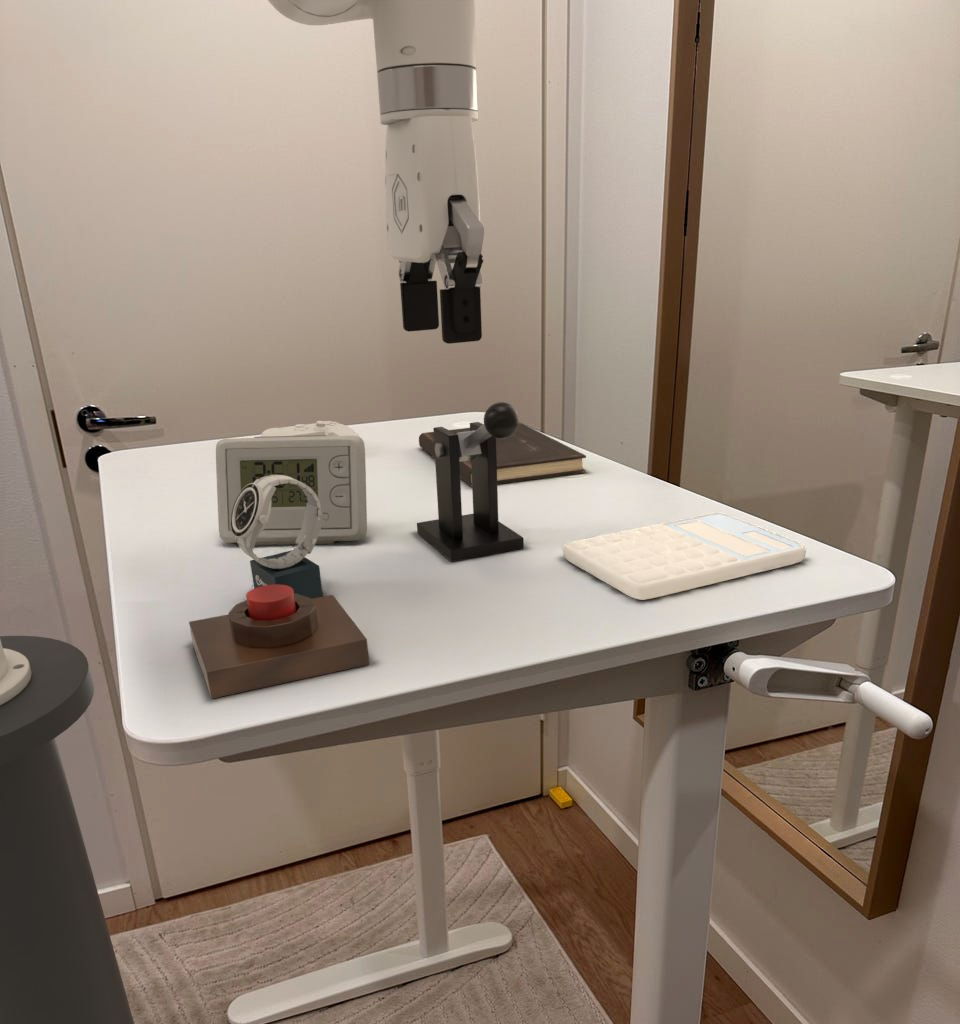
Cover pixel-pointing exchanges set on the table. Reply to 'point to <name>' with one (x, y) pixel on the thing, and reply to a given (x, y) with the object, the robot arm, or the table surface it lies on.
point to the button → (271, 602)
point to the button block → (276, 646)
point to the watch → (285, 566)
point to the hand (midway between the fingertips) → (440, 335)
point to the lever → (488, 430)
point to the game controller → (312, 430)
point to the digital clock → (308, 459)
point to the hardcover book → (522, 456)
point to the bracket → (482, 527)
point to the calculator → (682, 554)
